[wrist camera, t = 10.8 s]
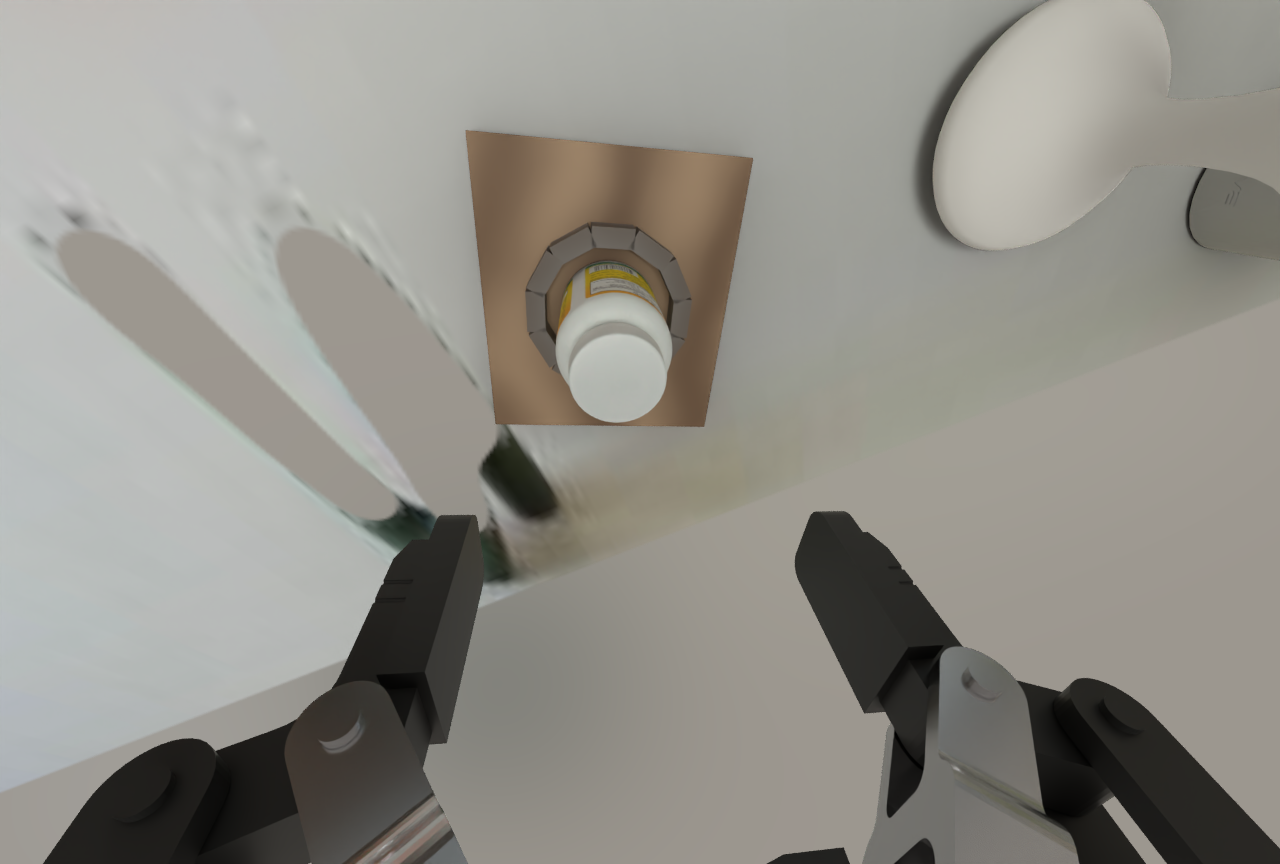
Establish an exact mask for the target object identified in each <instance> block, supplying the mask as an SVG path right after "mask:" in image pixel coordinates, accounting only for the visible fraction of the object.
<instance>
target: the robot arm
mask: <svg viewBox="0 0 1280 864" xmlns="http://www.w3.org/2000/svg"><path fill="white" fill-rule="evenodd" d="M1189 216H1190V229H1191V232H1192V235H1193V238H1194V239H1195V240H1196V241H1197V242H1198V243H1199V244H1200V245H1202V246H1204V247H1206V248H1209V249H1213V250H1219V251H1225V252H1231V253H1237V254H1243V255H1249V256H1256V257H1262V258H1268V259H1274V260H1280V194H1279V193H1278V192H1277V191H1276V190H1275V189H1274V188H1272V187H1271V186H1269V185H1267V184H1265V183H1263V182H1261V181H1259V180H1257V179H1254V178H1250V177H1247V176H1243V175H1240V174H1236V173H1232V172H1228V171H1222V170H1215V169H1209V168H1207V169H1206V171H1205V173H1204V175H1203V176H1202V178H1201V180H1200V182H1199V184H1198V187H1197V189H1196V192H1195V194H1194V197H1193V200H1192V205H1191V209H1190V214H1189ZM795 570H796V574H797V578H798V580H799V582H800V584H801V586H802V588H803V590H804V593H805V595H806V596H807V599H808V601H809V603H810V604H811V606H812V609H813V611H814V613H815V615H816V617H817V619H818V621H819V623H820V625H821V627H822V629H823V631H824V633H825V635H826V637H827V639H828V641H829V643H830V645H831V647H832V649H833V651H834V653H835V655H836V657H837V659H838V661H839V663H840V665H841V667H842V669H843V671H844V673H845V675H846V677H847V679H848V681H849V683H850V685H851V687H852V689H853V691H854V693H855V695H856V698H857V700H858V701H859V704H860V706H861V708H862V710H863V712H864V713H876V712H886V714H887V716H888V718H889V720H890V721H891V723H890V725H889V727H888V729H887V733H886V740H885V749H884V758H883V766H882V776H881V784H880V792H879V801H878V809H877V817H876V823H875V827H874V830H873V833H872V836H871V838H870V840H869V843H868V845H867V848H866V851H865V855H864V858H863V862H862V864H1146V863H1145V862H1144V860H1143V859H1142V858H1141V857H1140V855H1139V854H1138V852H1137V851H1136V850H1135V848H1134V847H1133V846H1132V844H1131V843H1130V842H1129V840H1128V839H1127V838H1126V836H1125V835H1124V834H1123V832H1122V831H1121V830H1120V828H1119V827H1118V825H1117V824H1116V823H1115V821H1114V820H1113V819H1112V817H1111V816H1110V815H1109V813H1108V812H1107V811H1106V809H1105V808H1104V807H1103V805H1102V804H1103V803H1105V802H1106V801H1108V800H1109V799H1111V798H1112V797H1114V796H1115V797H1116V798H1117V799H1118V800H1119V802H1120V803H1121V805H1122V806H1123V807H1124V808H1125V810H1126V811H1127V812H1128V814H1129V815H1130V816H1131V818H1132V819H1133V820H1134V821H1135V823H1136V824H1137V825H1138V826H1139V828H1140V829H1141V831H1142V832H1143V833H1144V834H1145V836H1146V837H1147V838H1148V840H1149V841H1150V842H1151V843H1152V845H1153V846H1154V847H1155V849H1156V850H1157V851H1158V853H1159V854H1160V855H1161V856H1162V858H1163V859H1164V860H1165V862H1166V863H1167V864H1280V848H1279V847H1278V846H1277V845H1276V844H1275V843H1274V842H1273V841H1272V840H1271V839H1270V838H1269V837H1268V836H1267V835H1266V834H1265V833H1264V832H1263V831H1262V829H1261V828H1260V827H1259V826H1258V825H1257V824H1256V823H1255V822H1254V821H1253V820H1252V819H1251V818H1250V817H1249V816H1248V815H1247V814H1246V813H1245V812H1244V810H1243V809H1242V808H1241V807H1240V806H1239V805H1238V804H1237V803H1236V802H1235V801H1234V800H1233V799H1232V798H1231V797H1230V796H1229V795H1228V794H1227V793H1226V792H1225V790H1224V789H1223V788H1222V787H1221V786H1220V785H1219V784H1218V783H1217V782H1216V781H1215V780H1214V779H1213V778H1212V777H1211V776H1210V775H1209V774H1208V772H1207V771H1205V769H1204V768H1203V767H1202V766H1201V765H1200V764H1199V763H1198V762H1197V761H1196V760H1195V759H1194V758H1193V757H1192V756H1191V755H1190V754H1189V752H1187V750H1186V749H1185V748H1184V747H1183V746H1182V745H1181V744H1180V743H1179V742H1178V741H1177V740H1176V739H1175V738H1174V737H1173V736H1172V735H1171V733H1170V732H1169V731H1168V730H1167V729H1166V728H1165V727H1164V726H1163V725H1162V724H1161V723H1160V722H1159V721H1158V720H1157V719H1156V718H1155V717H1154V716H1153V715H1152V714H1151V713H1150V712H1149V711H1148V710H1147V709H1146V708H1145V707H1144V706H1142V705H1141V704H1140V703H1139V702H1137V701H1136V700H1135V699H1133V698H1132V697H1131V696H1129V695H1127V694H1126V693H1124V692H1123V691H1121V690H1119V689H1117V688H1116V687H1114V686H1111V685H1109V684H1107V683H1104V682H1101V681H1099V680H1095V679H1090V678H1081V679H1077V680H1075V681H1074V682H1072V683H1071V684H1070V685H1069V686H1068V687H1067V688H1066V689H1065V690H1064V691H1063V692H1060V691H1056V690H1052V689H1048V688H1044V687H1040V686H1036V685H1032V684H1028V683H1025V682H1021V681H1017V680H1016V679H1015V678H1014V677H1013V676H1012V675H1011V674H1010V673H1009V672H1008V671H1007V670H1006V669H1005V668H1004V667H1003V666H1002V665H1000V664H999V663H998V662H996V661H995V660H993V659H992V658H990V657H988V656H987V655H985V654H983V653H981V652H979V651H976V650H974V649H970V648H967V647H963V646H962V645H961V644H960V643H959V641H958V640H957V639H956V637H955V636H954V635H953V634H952V632H951V631H950V630H949V628H948V627H947V625H946V624H945V623H944V621H943V620H942V619H941V618H940V616H939V615H938V614H937V612H936V611H935V610H934V608H933V607H932V606H931V604H930V603H929V602H928V600H927V599H926V598H925V596H924V595H923V594H922V592H921V591H920V590H919V588H918V587H917V586H916V585H913V581H912V579H911V578H910V577H909V575H908V574H907V573H906V571H905V570H902V569H901V565H900V564H899V562H898V561H897V559H896V558H895V557H894V555H893V554H892V553H891V551H890V550H889V549H888V548H887V547H886V546H885V545H883V544H882V543H881V542H880V541H879V540H877V539H876V538H875V537H873V536H872V535H871V534H870V533H868V532H862V530H861V529H860V528H859V526H858V525H857V524H856V522H855V521H854V519H853V518H852V517H851V515H850V514H848V513H847V512H844V511H833V512H832V511H831V512H830V511H828V512H813V513H812V514H811V516H810V518H809V520H808V523H807V526H806V528H805V531H804V534H803V536H802V539H801V542H800V545H799V547H798V550H797V553H796V556H795ZM483 577H484V562H483V555H482V548H481V541H480V535H479V528H478V521H477V517H476V516H475V515H441V516H439V517H438V519H437V521H436V523H435V526H434V528H433V531H432V533H431V536H430V538H429V540H412V541H411V542H410V543H409V544H408V545H407V546H406V547H405V548H404V549H403V550H402V551H401V552H400V553H399V554H398V555H397V556H396V557H395V558H394V559H393V561H392V563H391V565H390V568H389V570H388V572H387V574H386V576H385V578H384V584H383V585H381V587H380V589H379V592H378V594H377V596H376V598H375V603H373V605H372V607H371V609H370V611H369V613H368V615H367V618H366V620H365V622H364V624H363V626H362V628H361V631H360V633H359V635H358V637H357V639H356V641H355V644H354V646H353V648H352V650H351V652H350V655H349V657H348V659H347V661H346V663H345V666H344V668H343V670H342V672H341V674H340V676H339V678H338V680H337V682H336V683H335V684H334V686H333V687H332V689H331V690H329V691H327V692H326V693H324V694H323V695H321V696H320V697H318V698H317V699H316V700H315V701H313V702H312V703H311V704H310V705H309V706H308V707H307V708H306V709H305V710H304V711H303V713H302V714H301V715H300V716H299V717H298V718H297V719H296V720H294V721H293V722H291V723H289V724H287V725H285V726H282V727H280V728H278V729H275V730H272V731H270V732H267V733H264V734H261V735H259V736H256V737H253V738H250V739H248V740H245V741H242V742H240V743H237V744H234V745H231V746H228V747H225V748H223V749H220V750H217V751H215V750H214V749H213V748H212V747H211V746H210V745H209V744H208V743H207V742H204V741H202V740H199V739H193V738H191V739H179V740H174V741H170V742H167V743H164V744H161V745H159V746H157V747H154V748H152V749H150V750H148V751H147V752H144V753H143V754H141V755H139V756H138V757H136V758H134V759H133V760H131V761H130V762H128V763H127V764H125V765H124V766H123V767H121V769H119V770H118V771H116V772H115V773H114V774H113V775H112V776H111V777H109V778H108V779H107V780H106V781H105V782H104V783H103V784H102V785H101V786H100V787H99V788H98V789H97V790H96V791H95V793H93V795H92V796H91V797H90V798H89V800H88V801H87V802H86V804H85V805H84V806H83V808H82V809H81V810H80V812H79V813H78V815H77V816H76V818H75V819H74V820H73V822H72V823H71V825H70V826H69V828H68V829H67V830H66V832H65V833H64V835H63V836H62V838H61V839H60V840H59V842H58V843H57V845H56V846H55V848H54V849H53V850H52V852H51V853H50V855H49V856H48V857H47V859H46V860H45V862H44V863H43V864H308V863H312V864H468V863H467V860H466V858H465V856H464V854H463V852H462V850H461V847H460V845H459V843H458V841H457V839H456V837H455V834H454V832H453V830H452V828H451V826H450V824H449V822H448V819H447V817H446V815H445V813H444V811H443V810H442V808H441V806H440V805H439V803H438V801H437V798H436V797H435V794H434V792H433V790H432V788H431V786H430V784H429V781H428V779H427V777H426V775H425V773H424V771H423V765H424V761H425V758H426V753H427V750H428V746H429V744H442V743H447V739H448V735H449V731H450V726H451V722H452V717H453V713H454V708H455V704H456V700H457V696H458V691H459V687H460V682H461V678H462V674H463V669H464V665H465V661H466V656H467V652H468V647H469V643H470V639H471V634H472V630H473V625H474V621H475V617H476V613H477V608H478V604H479V600H480V595H481V591H482V586H483ZM767 864H850V863H849V861H848V858H847V855H846V853H845V850H844V848H835V849H827V850H818V851H809V852H801V853H792V854H785V855H782V856H780V857H778V858H777V859H775V860H773V861H771V862H769V863H767Z"/></svg>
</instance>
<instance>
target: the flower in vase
mask: <svg viewBox="0 0 1280 864" xmlns="http://www.w3.org/2000/svg"><path fill="white" fill-rule="evenodd" d="M1171 65H1172V64H1171V54H1170V48H1169V44H1168V40H1167V36H1166V32H1165V28H1164V26H1163V24H1162V22H1161V20H1160V18H1159V15H1158V14H1157V13H1156V12H1155V10H1154V9H1153V8H1152V7H1151V5H1149V4H1148V3H1147V2H1145V1H1144V0H1049V1H1047V2H1045V3H1043V4H1041V5H1040V6H1038V7H1036V8H1035V9H1033V10H1032V11H1031V12H1029V13H1028V14H1026V15H1025V16H1023V17H1022V18H1021V19H1019V20H1018V21H1017V22H1016V23H1015V24H1014V25H1012V26H1011V27H1010V28H1009V29H1008V30H1007V31H1005V32H1004V33H1003V35H1002V36H1001V37H1000V38H999V39H998V40H997V41H996V42H995V43H994V44H993V45H992V46H991V47H990V48H989V49H988V51H987V52H986V53H985V54H984V55H983V57H982V58H981V59H980V60H979V62H978V63H977V64H976V66H975V67H974V69H973V70H972V72H971V73H970V74H969V76H968V77H967V79H966V80H965V82H964V83H963V85H962V86H961V88H960V90H959V92H958V93H957V95H956V97H955V99H954V100H953V102H952V104H951V107H950V109H949V111H948V113H947V115H946V118H945V120H944V123H943V126H942V129H941V131H940V134H939V138H938V142H937V146H936V150H935V156H934V162H933V190H934V198H935V202H936V207H937V210H938V213H939V215H940V218H941V220H942V222H943V223H944V225H945V227H946V228H947V230H948V231H949V232H950V233H951V234H952V235H953V236H954V237H955V238H956V239H958V240H959V241H960V242H962V243H963V244H966V245H968V246H970V247H972V248H976V249H980V250H987V251H1000V250H1008V249H1013V248H1017V247H1022V246H1027V245H1031V244H1034V243H1037V242H1040V241H1042V240H1045V239H1047V238H1049V237H1051V236H1053V235H1055V234H1057V233H1059V232H1060V231H1062V230H1064V229H1066V228H1067V227H1069V226H1070V225H1072V224H1073V223H1075V222H1076V221H1077V220H1079V219H1080V218H1082V217H1083V216H1084V215H1085V214H1087V213H1088V212H1089V211H1090V210H1092V209H1093V208H1094V207H1095V206H1097V205H1098V204H1099V203H1100V202H1101V201H1103V200H1104V199H1105V198H1106V197H1107V196H1108V195H1109V194H1110V193H1111V192H1112V191H1113V190H1114V189H1115V188H1116V187H1117V186H1118V185H1119V184H1120V182H1121V181H1122V180H1123V179H1124V178H1125V177H1126V176H1127V174H1128V173H1129V172H1130V170H1131V169H1132V168H1133V167H1140V166H1147V165H1179V166H1193V167H1203V168H1209V169H1215V170H1222V171H1228V172H1232V173H1236V174H1240V175H1243V176H1247V177H1250V178H1254V179H1257V180H1259V181H1261V182H1263V183H1265V184H1267V185H1269V186H1271V187H1272V188H1274V189H1275V190H1276V191H1277V192H1278V193H1279V194H1280V88H1275V89H1270V90H1264V91H1259V92H1253V93H1248V94H1242V95H1234V96H1225V97H1216V98H1208V99H1175V98H1168V93H1169V87H1170V81H1171Z"/></svg>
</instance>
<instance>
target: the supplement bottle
mask: <svg viewBox="0 0 1280 864" xmlns="http://www.w3.org/2000/svg"><path fill="white" fill-rule="evenodd" d="M671 358H672V340H671V335H670V331H669V329H668V326H667V324H666V321H665V319H664V316H663V314H662V312H661V310H660V308H659V306H658V304H657V301H656V299H655V297H654V294H653V292H652V290H651V288H650V286H649V284H648V282H647V281H646V280H645V278H644V277H643V276H642V275H641V274H640V273H639V272H638V271H636V270H635V269H634V268H632V267H631V266H628V265H626V264H624V263H621V262H616V261H599V262H595V263H592V264H589V265H587V266H585V267H584V268H582V269H581V270H579V271H578V272H577V273H576V274H575V275H574V276H573V277H572V279H571V280H570V281H569V283H568V285H567V286H566V289H565V291H564V295H563V299H562V305H561V312H560V318H559V325H558V331H557V337H556V360H557V364H558V367H559V370H560V372H561V374H562V376H563V378H564V380H565V381H566V383H567V384H568V385H569V387H570V390H571V393H572V395H573V398H574V399H575V401H576V402H577V404H578V405H579V406H580V407H581V408H582V409H583V410H584V411H585V412H586V413H588V414H589V415H591V416H593V417H595V418H597V419H599V420H602V421H606V422H614V423H619V422H628V421H631V420H635V419H637V418H640V417H641V416H643V415H645V414H646V413H648V412H649V411H650V410H652V409H653V408H654V407H655V406H656V404H657V403H658V402H659V400H660V399H661V397H662V395H663V393H664V390H665V387H666V381H667V371H668V369H669V366H670V363H671Z"/></svg>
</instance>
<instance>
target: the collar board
mask: <svg viewBox="0 0 1280 864" xmlns="http://www.w3.org/2000/svg"><path fill="white" fill-rule="evenodd" d="M466 140H467V149H468V159H469V169H470V179H471V188H472V198H473V208H474V218H475V227H476V237H477V247H478V257H479V266H480V276H481V286H482V295H483V305H484V315H485V325H486V334H487V344H488V354H489V364H490V373H491V383H492V393H493V403H494V412H495V422H496V424H523V425H606V426H690V427H704V424H705V419H706V413H707V408H708V402H709V397H710V391H711V386H712V381H713V375H714V370H715V364H716V359H717V353H718V348H719V342H720V337H721V331H722V326H723V320H724V315H725V310H726V304H727V299H728V293H729V288H730V282H731V277H732V271H733V266H734V260H735V255H736V249H737V244H738V239H739V233H740V228H741V222H742V217H743V211H744V206H745V200H746V195H747V189H748V184H749V178H750V173H751V168H752V162H753V158H746V157H736V156H726V155H715V154H705V153H695V152H685V151H674V150H664V149H654V148H643V147H633V146H623V145H612V144H602V143H592V142H582V141H571V140H561V139H551V138H540V137H530V136H520V135H509V134H499V133H489V132H479V131H468V130H466ZM599 261H616V262H621V263H624V264H626V265H628V266H631V267H632V268H634V269H635V270H636V271H638V272H639V273H640V274H641V275H642V276H643V277H644V278H645V280H646V281H647V282H648V284H649V286H650V288H651V290H652V292H653V294H654V297H655V299H656V301H657V304H658V306H659V308H660V310H661V312H662V314H663V316H664V319H665V321H666V324H667V326H668V329H669V331H670V335H671V340H672V358H671V363H670V366H669V369H668V371H667V381H666V387H665V390H664V393H663V395H662V397H661V399H660V400H659V402H658V403H657V404H656V406H655V407H654V408H653V409H652V410H650V411H649V412H648V413H646V414H645V415H643V416H641V417H640V418H637V419H635V420H631V421H628V422H619V423H614V422H606V421H602V420H599V419H597V418H595V417H593V416H591V415H589V414H588V413H586V412H585V411H584V410H583V409H582V408H581V407H580V406H579V405H578V404H577V402H576V401H575V399H574V398H573V395H572V393H571V390H570V387H569V385H568V384H567V383H566V381H565V380H564V378H563V376H562V374H561V372H560V370H559V367H558V364H557V360H556V337H557V331H558V325H559V318H560V312H561V305H562V299H563V295H564V291H565V289H566V286H567V285H568V283H569V281H570V280H571V279H572V277H573V276H574V275H575V274H576V273H577V272H578V271H579V270H581V269H582V268H584V267H585V266H587V265H589V264H592V263H595V262H599Z"/></svg>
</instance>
